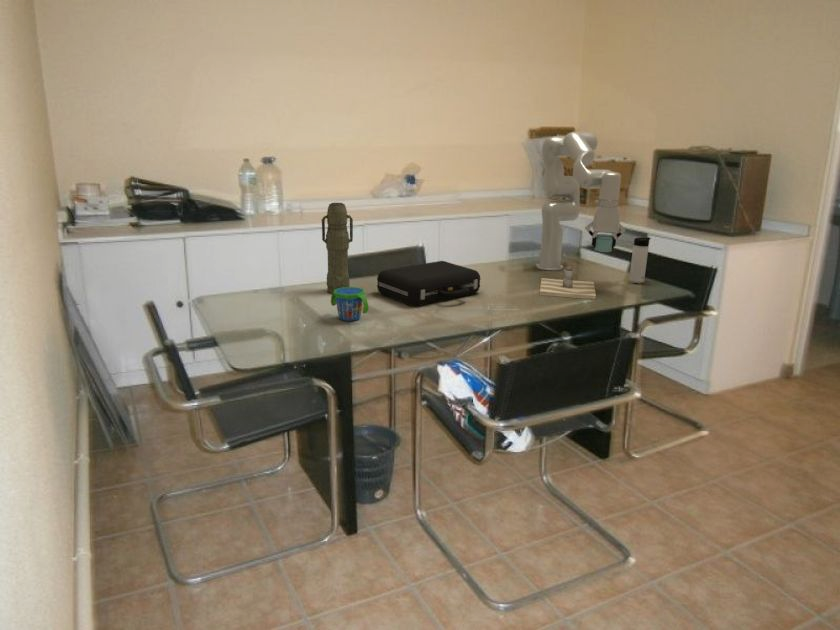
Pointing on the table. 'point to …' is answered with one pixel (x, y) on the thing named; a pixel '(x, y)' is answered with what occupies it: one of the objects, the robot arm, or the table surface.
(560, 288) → the post board
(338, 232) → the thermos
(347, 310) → the snack cup
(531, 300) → the table surface
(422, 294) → the briefcase
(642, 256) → the travel mug
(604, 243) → the teal cube
